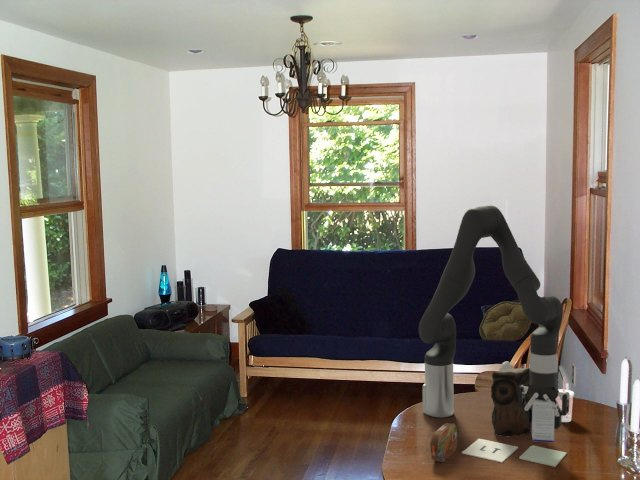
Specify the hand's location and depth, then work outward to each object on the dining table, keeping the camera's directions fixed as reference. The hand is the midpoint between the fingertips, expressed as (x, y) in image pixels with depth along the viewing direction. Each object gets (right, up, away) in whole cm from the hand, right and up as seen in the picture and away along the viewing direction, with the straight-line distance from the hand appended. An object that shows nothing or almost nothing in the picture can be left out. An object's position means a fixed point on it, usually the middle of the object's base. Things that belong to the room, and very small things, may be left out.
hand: (543, 425), depth 204 cm
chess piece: (+2, -4, +44) cm, 44 cm away
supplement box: (0, -4, +1) cm, 4 cm away
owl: (-3, -7, +22) cm, 23 cm away
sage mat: (0, -9, +1) cm, 9 cm away
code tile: (-13, -9, +6) cm, 17 cm away
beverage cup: (+15, -5, +28) cm, 33 cm away
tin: (-27, -10, +3) cm, 29 cm away
